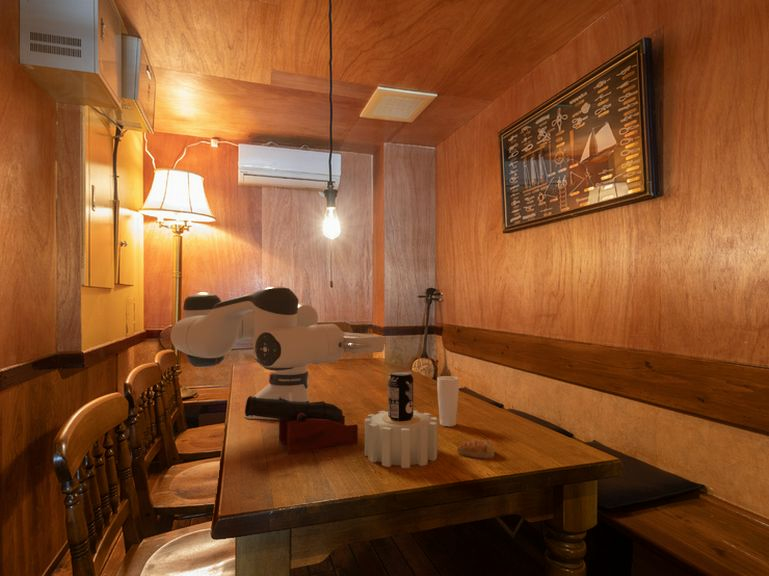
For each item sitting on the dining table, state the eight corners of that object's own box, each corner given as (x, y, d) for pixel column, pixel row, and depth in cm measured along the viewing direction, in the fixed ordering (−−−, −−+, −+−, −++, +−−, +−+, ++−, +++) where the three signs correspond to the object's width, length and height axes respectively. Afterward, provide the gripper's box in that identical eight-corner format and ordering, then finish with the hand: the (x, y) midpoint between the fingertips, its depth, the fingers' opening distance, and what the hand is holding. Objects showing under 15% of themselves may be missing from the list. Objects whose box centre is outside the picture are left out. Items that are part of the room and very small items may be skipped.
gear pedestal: (366, 469, 104) (366, 430, 104) (363, 442, 123) (363, 409, 123) (444, 466, 106) (444, 428, 106) (430, 440, 125) (430, 408, 125)
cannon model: (241, 446, 120) (241, 391, 120) (342, 431, 133) (342, 382, 133) (249, 462, 109) (249, 401, 109) (358, 444, 122) (358, 390, 122)
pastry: (458, 458, 112) (458, 443, 112) (456, 449, 119) (456, 435, 119) (495, 459, 111) (495, 444, 111) (491, 450, 118) (491, 436, 118)
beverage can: (413, 415, 117) (413, 370, 118) (412, 422, 111) (412, 375, 111) (389, 414, 118) (389, 370, 118) (387, 421, 112) (387, 374, 112)
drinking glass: (460, 422, 142) (460, 376, 142) (456, 428, 136) (456, 380, 136) (439, 420, 144) (439, 375, 144) (435, 426, 138) (435, 379, 138)
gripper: (357, 332, 93) (401, 328, 103) (301, 327, 107) (344, 324, 117) (357, 362, 93) (401, 355, 102) (301, 352, 107) (344, 348, 117)
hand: (370, 339), depth 110 cm, fingers open, 8 cm apart
